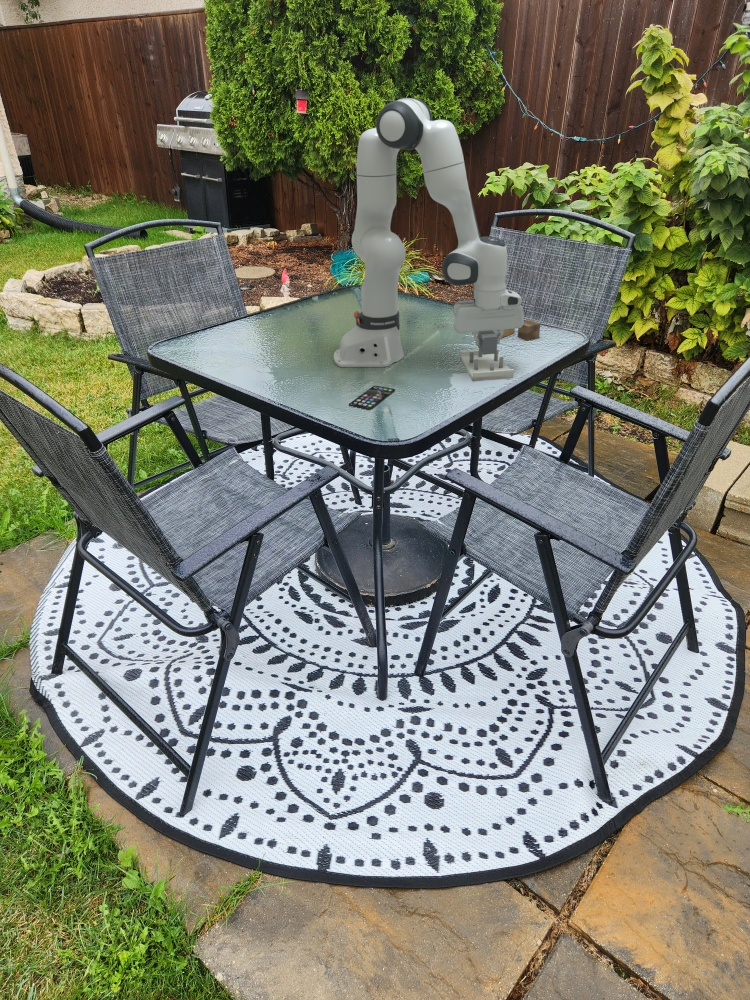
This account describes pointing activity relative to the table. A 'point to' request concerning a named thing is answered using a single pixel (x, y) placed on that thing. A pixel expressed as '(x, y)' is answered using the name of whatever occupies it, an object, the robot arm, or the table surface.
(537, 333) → the walnut block
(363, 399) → the smartphone
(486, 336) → the block
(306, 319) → the table surface
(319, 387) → the table surface
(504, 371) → the peg board
